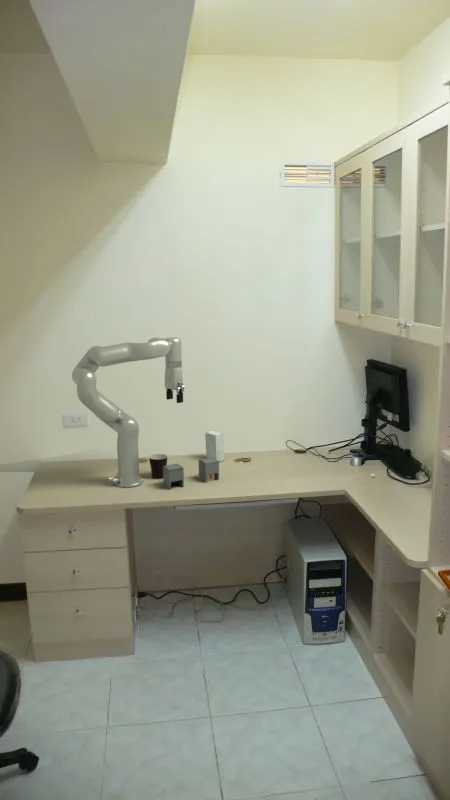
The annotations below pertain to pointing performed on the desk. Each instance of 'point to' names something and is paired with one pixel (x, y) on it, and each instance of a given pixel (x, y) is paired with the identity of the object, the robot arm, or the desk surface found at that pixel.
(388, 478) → the desk surface
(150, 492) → the desk surface
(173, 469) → the cover left
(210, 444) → the skincare box
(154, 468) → the coffee mug
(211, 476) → the letter cube
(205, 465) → the cover right
